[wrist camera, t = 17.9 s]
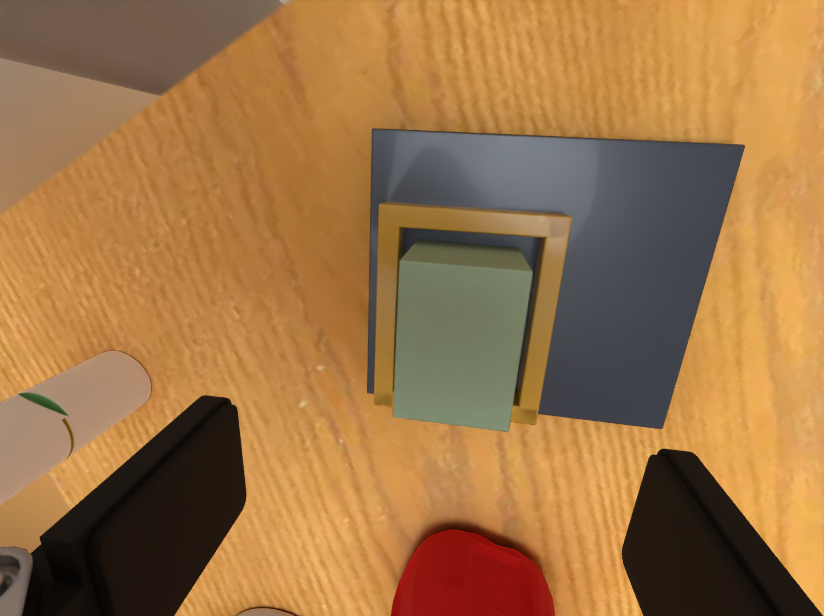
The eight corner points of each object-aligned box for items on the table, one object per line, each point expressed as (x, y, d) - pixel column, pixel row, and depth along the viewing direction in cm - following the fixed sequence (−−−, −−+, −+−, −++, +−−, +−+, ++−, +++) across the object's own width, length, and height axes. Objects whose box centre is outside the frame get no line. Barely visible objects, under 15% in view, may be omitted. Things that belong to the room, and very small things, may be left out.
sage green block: (501, 377, 22) (508, 432, 17) (409, 366, 23) (392, 417, 18) (519, 247, 20) (533, 271, 15) (416, 239, 20) (399, 260, 16)
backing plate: (371, 383, 25) (359, 407, 22) (377, 130, 20) (363, 124, 18) (653, 417, 23) (676, 447, 20) (729, 146, 18) (770, 142, 16)
